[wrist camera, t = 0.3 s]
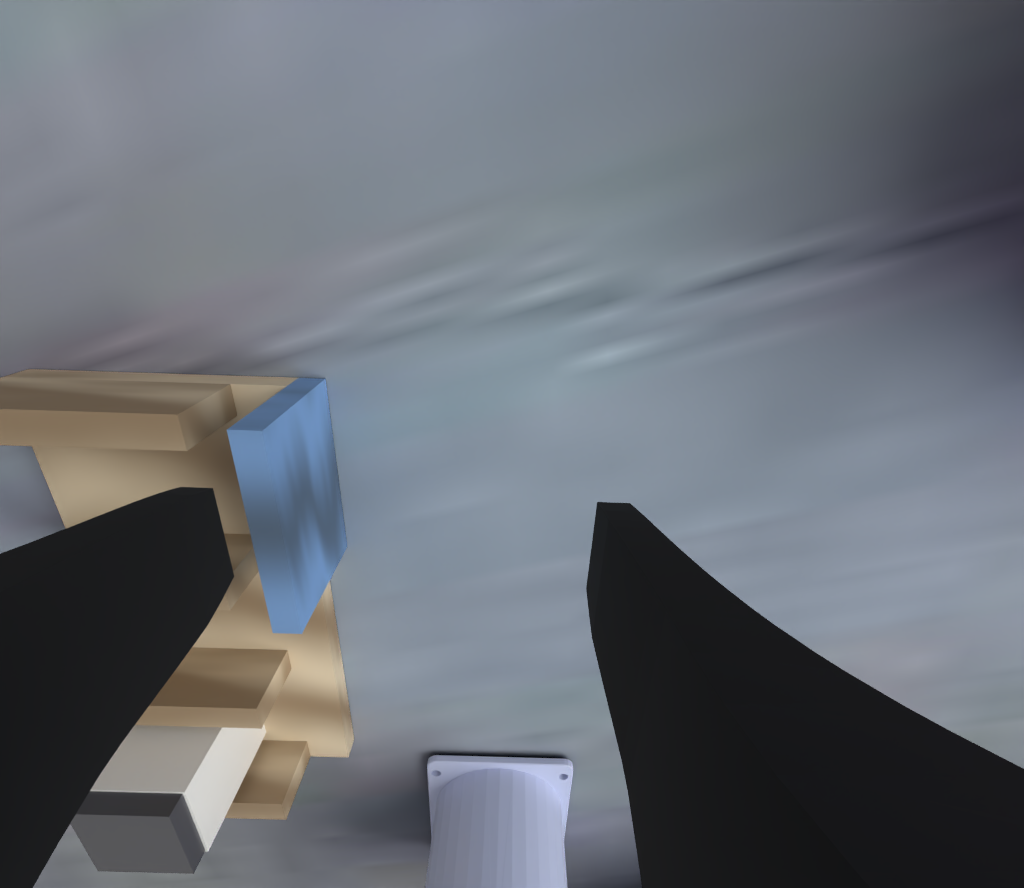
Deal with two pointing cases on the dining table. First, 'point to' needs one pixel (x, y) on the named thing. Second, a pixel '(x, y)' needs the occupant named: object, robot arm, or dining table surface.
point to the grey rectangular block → (164, 797)
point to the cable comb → (248, 533)
